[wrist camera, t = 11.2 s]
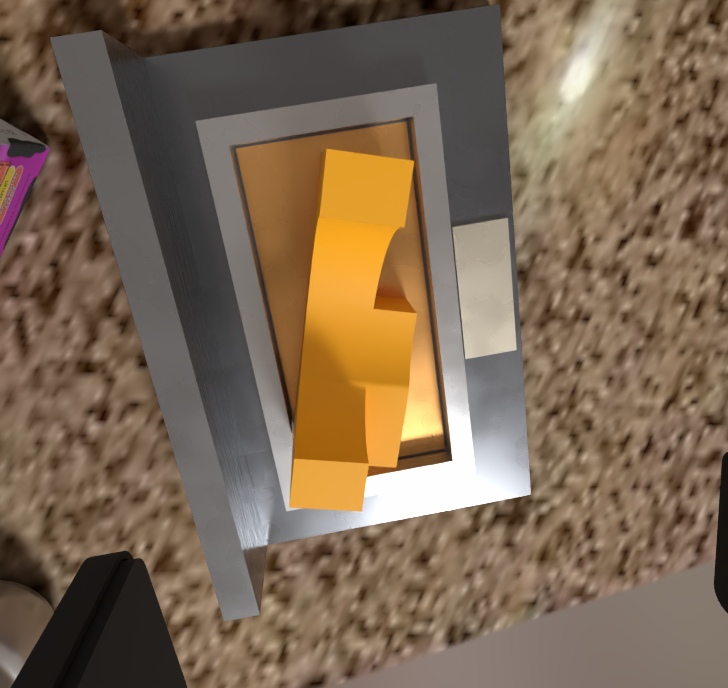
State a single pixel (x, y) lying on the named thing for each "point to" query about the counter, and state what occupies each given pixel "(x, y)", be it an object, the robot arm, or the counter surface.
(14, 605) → the plastic bottle
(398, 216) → the orange notched block
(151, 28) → the counter surface
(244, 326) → the grey tray with recess
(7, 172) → the candy bar box
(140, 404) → the counter surface
